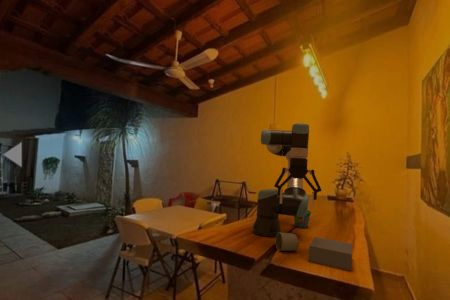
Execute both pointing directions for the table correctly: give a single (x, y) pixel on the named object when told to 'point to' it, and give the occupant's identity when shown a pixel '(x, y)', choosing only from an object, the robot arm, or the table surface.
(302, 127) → the robot arm
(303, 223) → the snack cup
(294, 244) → the ceramic mug
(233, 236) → the table surface
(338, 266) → the slate block
